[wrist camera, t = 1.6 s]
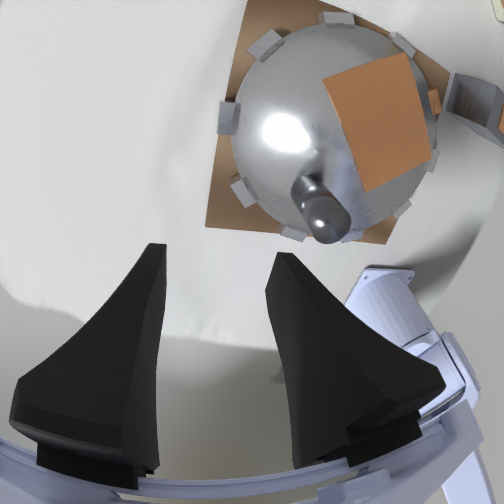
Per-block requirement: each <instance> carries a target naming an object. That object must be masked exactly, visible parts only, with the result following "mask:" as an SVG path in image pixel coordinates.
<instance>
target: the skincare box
mask: <svg viewBox="0 0 504 504" xmlns="http://www.w3.org/2000/svg"><path fill="white" fill-rule="evenodd" d="M491 1H492V4H493V8H494V11H495V15H496V18H497V20H498V21H500V22H502V23H504V0H491Z"/></svg>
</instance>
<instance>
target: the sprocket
mask: <svg viewBox="0 0 504 504" xmlns="http://www.w3.org/2000/svg"><path fill="white" fill-rule="evenodd" d="M317 15H318V20H319V25H314V26H309V27H306V28H303V29H301V30H298V31H295V32H293V33H290V34H288V35H286V36H285V37H283V38H282V37H280V36H279V35H278V34H277V33H276V32H275V31H274V30H273V29H270V30H269V31H267V32H266V33H265V34H264V35H263V36H262V37H260V38H259V39H258V40H257V41H256V42H255V43H253V44H252V45H251V46H250V47H249V48H248V49H247V50H246V51H245V52H246V53H247V54H249V55H250V56H251V57H252V58H253V59H255V61H254V63H253V64H252V65H251V67H250V68H249V70H248V71H247V73H246V74H245V76H244V78H243V80H242V82H241V84H240V86H239V89H238V91H237V93H236V97H235V101H221V100H220V103H219V112H218V122H217V134H223V135H231V143H232V149H233V155H234V158H235V161H236V165H237V168H238V171H239V174H238V175H236V176H234V177H233V178H231V179H229V183H230V187H231V188H232V189H233V191H234V192H235V194H236V195H237V197H238V198H239V200H240V201H241V203H242V204H243V206H244V207H245V208H247V207H248V206H250V205H252V204H254V203H256V202H257V203H258V204H259V206H260V207H261V208H262V209H263V210H264V211H265V212H267V213H268V214H269V215H270V216H271V217H273V218H274V219H276V220H277V221H279V222H280V224H279V225H278V227H277V229H278V231H279V233H280V235H282V236H285V237H288V238H291V239H294V240H297V241H299V242H303V240H304V239H305V237H306V236H307V234H313V236H314V238H315V239H316V240H317V241H318V242H320V243H323V244H331V243H335V242H337V241H339V240H340V242H341V243H345V242H349V241H353V240H357V239H361V238H363V230H364V229H366V228H369V227H371V226H373V225H375V224H377V223H379V222H381V221H382V220H384V219H386V218H387V217H389V216H390V215H392V216H393V217H394V218H395V219H397V218H398V217H399V216H400V215H402V214H403V213H404V212H405V211H406V210H407V209H408V208H409V207H410V206H411V205H412V204H411V202H410V201H409V197H410V196H411V195H412V194H413V192H414V191H415V190H416V188H417V187H418V185H419V184H420V182H421V180H422V179H423V177H424V175H425V173H426V170H427V171H430V172H433V170H434V167H435V164H436V161H437V158H438V155H439V152H440V151H438V150H436V149H434V144H435V136H436V116H435V114H438V113H440V112H442V109H441V104H440V99H439V95H438V90H437V89H436V88H433V87H428V84H427V82H426V80H425V78H424V76H423V74H422V73H421V71H420V69H419V68H418V67H417V65H416V64H415V62H414V61H413V60H412V57H413V55H414V54H415V52H416V50H415V49H414V48H413V47H412V46H411V45H410V44H408V43H407V42H406V41H405V40H404V39H403V38H402V37H401V36H400V35H399V34H398V33H389V34H388V36H387V37H385V36H383V35H382V34H380V33H377V32H375V31H373V30H371V29H368V28H365V27H361V26H357V25H355V23H354V18H353V13H343V12H321V13H318V14H317Z"/></svg>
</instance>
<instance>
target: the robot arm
mask: <svg viewBox="0 0 504 504" xmlns="http://www.w3.org/2000/svg"><path fill="white" fill-rule="evenodd" d="M166 249H167V244H156V243H150V244H148V245H147V247H146V248H145V250H144V252H143V253H142V255H141V256H140V258H139V259H138V261H137V262H136V264H135V265H134V266H133V268H132V269H131V271H130V272H129V273H128V275H127V276H126V277H125V279H124V280H123V281H122V283H121V284H120V285H119V286H118V288H117V289H116V290H115V291H114V293H113V294H112V295H111V296H110V298H109V299H108V300H107V301H106V302H105V303H104V305H103V306H102V307H101V308H100V309H99V310H98V311H97V312H96V313H95V315H94V316H93V317H92V318H91V319H90V320H89V321H88V322H87V323H86V324H85V325H84V326H83V327H82V328H81V329H80V330H79V331H78V332H77V333H76V334H75V335H74V336H72V337H71V338H70V339H69V340H68V341H67V342H66V343H65V344H63V345H62V346H61V347H60V348H59V349H58V350H56V351H55V352H54V353H53V354H52V355H50V356H49V357H48V358H47V359H46V360H44V361H43V362H42V363H40V364H39V365H37V366H36V367H35V368H34V369H32V370H31V371H29V372H28V373H26V374H25V375H24V376H22V377H21V378H19V379H18V382H17V385H16V388H15V391H14V395H13V400H12V406H11V411H10V416H9V423H10V425H11V426H12V427H13V428H14V429H16V430H17V431H18V432H20V433H22V434H23V435H25V436H26V437H28V438H30V439H32V440H33V441H35V442H37V443H38V446H37V452H34V451H32V450H29V449H27V448H24V447H22V446H20V445H17V444H15V443H13V442H11V441H8V440H6V439H4V438H2V437H0V504H160V503H151V502H142V501H133V500H123V499H122V498H121V497H120V496H119V495H118V494H117V493H116V492H118V493H124V494H130V495H138V496H146V497H157V498H173V499H217V498H232V497H243V496H252V495H260V494H266V493H273V492H278V491H283V490H289V489H293V488H298V487H302V486H306V485H311V484H314V483H318V482H322V481H325V480H329V479H332V478H335V477H339V476H341V475H345V474H348V473H350V472H353V471H356V470H359V469H360V470H359V471H358V474H357V476H355V477H353V478H349V479H346V480H343V481H339V482H336V483H333V484H330V485H327V486H324V487H321V488H318V489H317V494H318V497H317V498H313V499H309V500H305V501H300V502H296V503H291V504H423V503H424V502H425V501H426V500H427V499H428V498H429V497H430V496H431V495H432V494H433V493H434V492H436V491H437V489H439V487H440V486H441V485H442V488H443V490H444V493H445V496H446V499H447V501H448V504H496V502H495V499H494V495H493V491H492V487H491V484H490V481H489V478H488V475H487V472H486V469H485V466H484V463H483V460H482V457H481V455H480V452H479V450H478V446H479V445H480V444H481V443H482V442H483V441H484V439H483V436H482V433H481V431H480V428H479V426H478V423H477V421H476V418H475V416H474V414H473V410H474V408H475V406H476V404H477V402H478V400H479V397H480V391H479V390H480V385H479V383H478V381H477V379H476V377H475V372H474V370H473V369H472V367H471V365H470V363H469V361H468V359H467V357H466V356H465V354H464V352H463V350H462V349H461V347H460V345H459V344H458V342H457V340H456V339H455V337H454V335H453V334H452V333H450V332H448V333H447V332H446V331H445V332H443V333H442V334H441V336H440V334H439V333H438V332H437V331H436V330H435V328H434V326H433V325H432V323H431V321H430V320H429V318H428V317H427V315H426V313H425V312H424V310H423V309H422V307H421V306H420V304H419V303H418V301H417V300H416V298H415V297H414V295H413V294H412V292H411V291H410V289H409V288H408V285H409V283H410V281H411V280H412V278H413V277H414V275H415V272H414V270H402V269H380V268H367V269H365V270H364V271H363V273H362V275H361V277H360V278H359V280H358V282H357V284H356V286H355V287H354V289H353V291H352V292H351V294H350V296H349V298H348V299H347V301H346V303H345V304H344V305H343V304H342V303H341V302H340V301H339V300H338V299H337V298H336V297H335V296H334V295H333V294H332V293H331V292H330V291H329V290H328V289H327V288H326V287H325V286H324V285H323V284H322V283H321V282H320V281H319V280H318V279H317V278H316V277H315V276H314V275H313V274H312V273H311V272H310V271H309V270H308V268H307V267H306V266H305V265H304V264H303V263H302V262H301V261H300V260H299V259H298V258H297V257H296V256H295V255H294V254H293V253H284V252H277V255H276V258H275V261H274V265H273V268H272V271H271V274H270V277H269V280H268V283H267V286H266V289H265V293H266V301H267V308H268V314H269V318H270V322H271V325H272V329H273V333H274V336H275V340H276V343H277V347H278V350H279V354H280V358H281V361H282V366H283V370H284V376H285V382H286V389H287V396H288V404H289V412H290V422H291V435H292V460H293V465H294V468H295V470H293V471H288V472H282V473H277V474H270V475H263V476H257V477H247V478H236V479H222V480H168V479H154V478H146V474H154V470H155V469H156V468H157V467H158V466H160V463H159V452H158V440H157V422H156V366H157V356H158V349H159V342H160V336H161V330H162V323H163V317H164V311H165V300H166V286H167V280H166ZM462 389H463V390H462ZM461 390H462V391H461ZM460 391H461V392H460ZM458 392H460V393H459V394H458V395H457V396H456V397H454V398H453V399H452V400H450V401H449V402H447V403H446V404H444V405H443V406H441V407H440V408H438V409H437V410H435V411H433V412H432V413H430V414H429V415H427V416H425V417H424V418H421V417H422V416H423V415H425V414H426V413H428V412H430V411H431V410H433V409H435V408H436V407H438V406H439V405H441V404H442V403H444V402H445V401H447V400H448V399H450V398H451V397H453V396H454V395H456V394H457V393H458ZM420 418H421V419H420ZM322 463H323V464H322ZM318 464H319V465H318ZM314 465H315V466H314ZM310 466H311V467H310ZM305 467H307V468H305ZM301 468H303V469H301ZM296 469H298V470H296Z"/></svg>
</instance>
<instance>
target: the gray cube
mask: <svg viewBox="0 0 504 504" xmlns="http://www.w3.org/2000/svg"><path fill="white" fill-rule="evenodd" d="M446 111H447V112H449V113H450V114H452V115H453V116H454V117H456V118H457V119H458V120H460V121H461V122H462V123H464V124H465V125H466V126H468V127H469V128H470V129H472V130H473V131H474V132H475V133H476V134H478V135H480V136H482V137H484V138H486V139H488V140H490V141H491V142H493V143H495V144H497V145H499V146H500V147H502V148H504V93H503V92H502V91H501V90H500V89H499V88H498V86H497V85H494V84H491V83H488V82H485V81H481V80H478V79H475V78H471V77H467V76H464V75H460V74H456V73H455V76H454V81H453V85H452V89H451V93H450V96H449V100H448V104H447V107H446Z"/></svg>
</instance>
